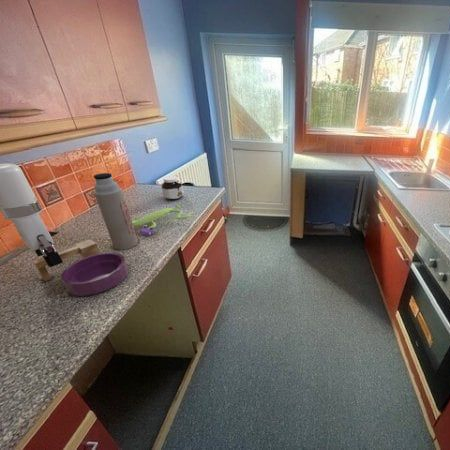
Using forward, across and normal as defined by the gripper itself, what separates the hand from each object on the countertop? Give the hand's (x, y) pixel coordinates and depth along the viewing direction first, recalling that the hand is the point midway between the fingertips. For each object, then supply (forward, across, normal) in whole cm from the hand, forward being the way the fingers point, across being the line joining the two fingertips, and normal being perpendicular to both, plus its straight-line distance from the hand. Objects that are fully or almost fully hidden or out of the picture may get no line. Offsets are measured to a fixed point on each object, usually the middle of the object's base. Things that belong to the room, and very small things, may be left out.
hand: (50, 259), depth 77 cm
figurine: (+7, -7, +40) cm, 41 cm away
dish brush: (+6, 0, +4) cm, 8 cm away
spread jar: (+7, -32, +61) cm, 70 cm away
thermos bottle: (+7, -2, +21) cm, 23 cm away
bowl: (+7, +13, +6) cm, 16 cm away
